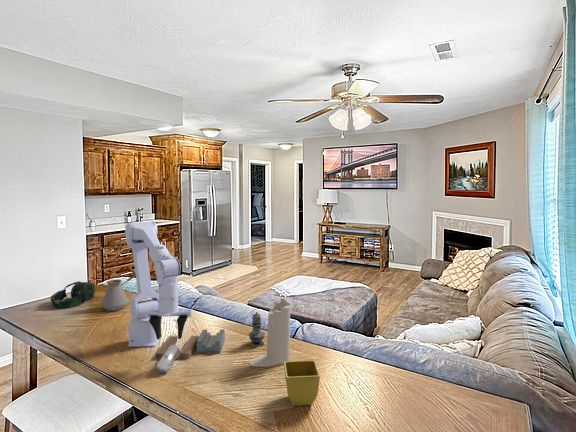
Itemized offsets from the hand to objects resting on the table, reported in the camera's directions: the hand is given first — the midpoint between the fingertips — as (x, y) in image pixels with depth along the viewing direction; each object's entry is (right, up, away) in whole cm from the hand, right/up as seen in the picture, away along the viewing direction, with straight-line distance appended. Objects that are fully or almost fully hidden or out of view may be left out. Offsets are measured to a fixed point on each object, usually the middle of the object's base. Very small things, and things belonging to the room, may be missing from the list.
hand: (169, 338), depth 116 cm
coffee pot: (-40, -4, +57) cm, 70 cm away
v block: (+11, -7, +13) cm, 18 cm away
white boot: (+32, -9, +2) cm, 33 cm away
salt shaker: (+27, -7, +15) cm, 32 cm away
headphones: (-66, -4, +61) cm, 90 cm away
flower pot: (+42, -10, -19) cm, 47 cm away
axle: (0, -7, 0) cm, 7 cm away
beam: (0, -8, +11) cm, 13 cm away
